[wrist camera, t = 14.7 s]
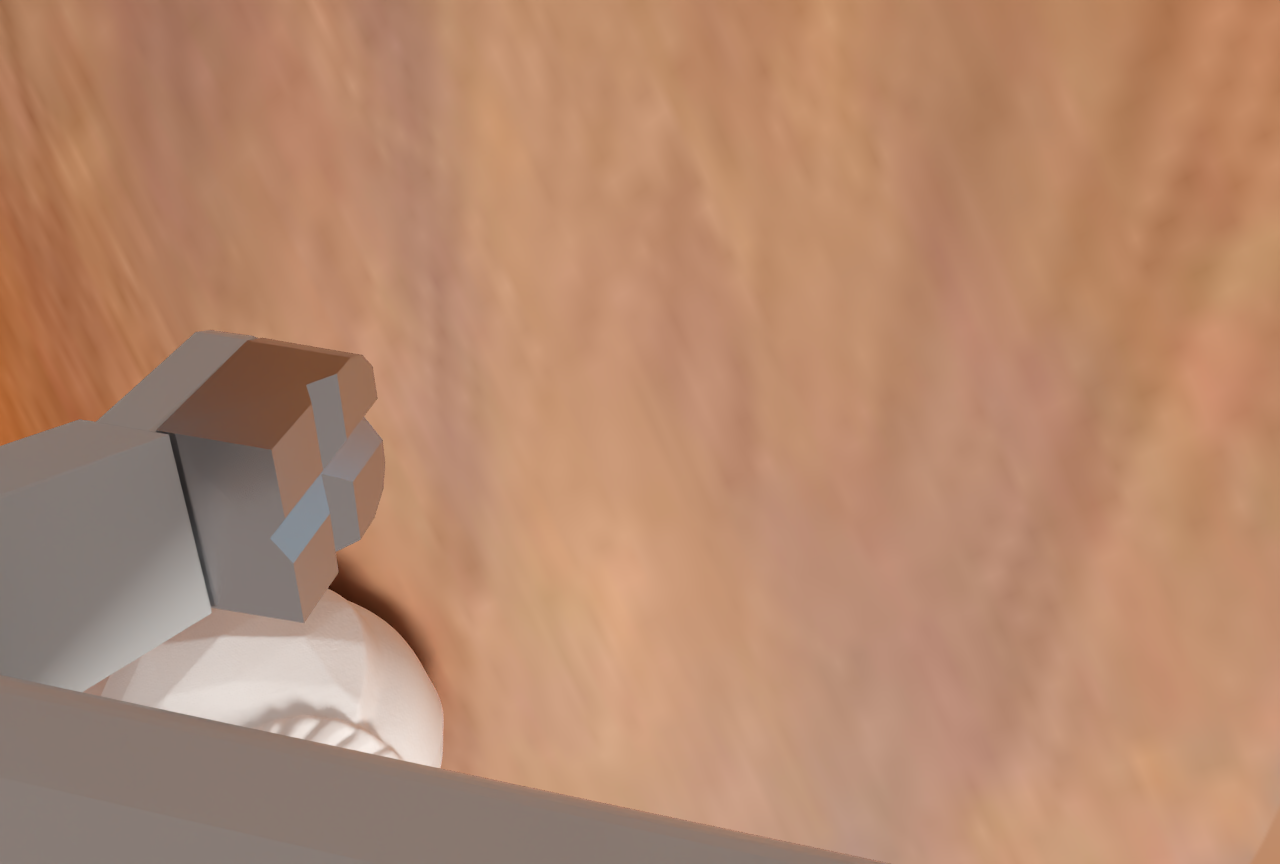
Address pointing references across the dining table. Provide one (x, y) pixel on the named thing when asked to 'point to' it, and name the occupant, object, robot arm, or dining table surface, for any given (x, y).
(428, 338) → the dining table surface
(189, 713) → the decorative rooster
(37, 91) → the dining table surface
